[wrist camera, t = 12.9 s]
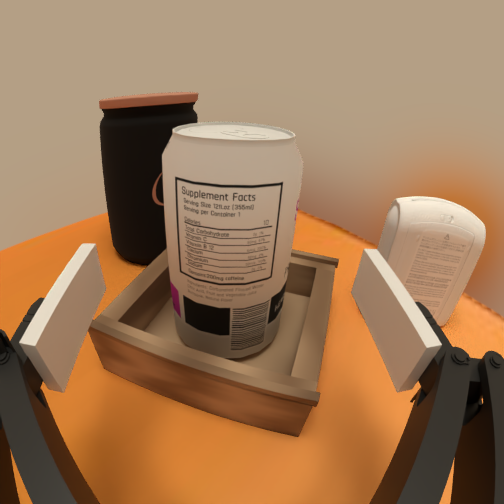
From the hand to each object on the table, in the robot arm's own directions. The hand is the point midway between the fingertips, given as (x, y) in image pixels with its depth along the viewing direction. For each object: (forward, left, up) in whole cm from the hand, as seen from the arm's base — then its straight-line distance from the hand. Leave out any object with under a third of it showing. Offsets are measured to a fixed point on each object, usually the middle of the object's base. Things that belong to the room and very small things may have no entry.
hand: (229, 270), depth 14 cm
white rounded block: (+14, +13, -11) cm, 22 cm away
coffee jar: (-16, +16, -11) cm, 25 cm away
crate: (-2, +5, -11) cm, 12 cm away
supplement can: (-2, +5, -9) cm, 11 cm away
